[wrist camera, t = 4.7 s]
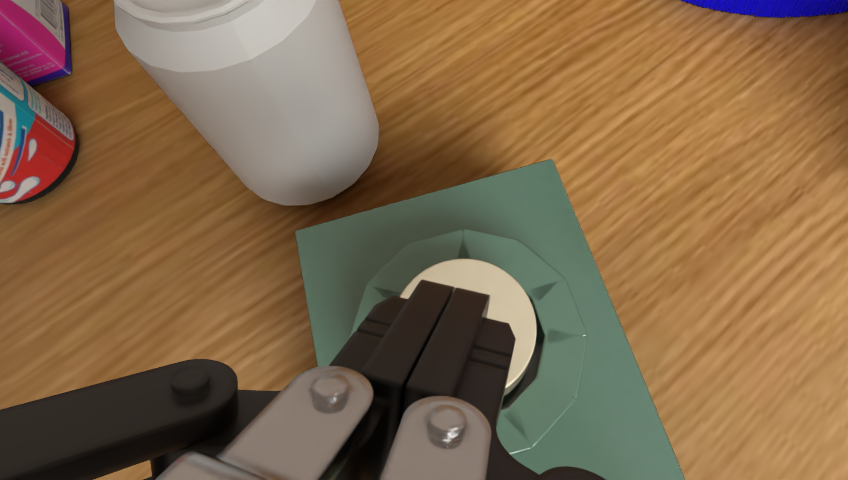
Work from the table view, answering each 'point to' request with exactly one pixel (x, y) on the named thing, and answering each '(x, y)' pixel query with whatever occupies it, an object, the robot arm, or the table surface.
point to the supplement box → (35, 39)
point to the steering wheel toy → (775, 7)
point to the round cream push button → (491, 303)
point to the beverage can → (31, 142)
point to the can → (262, 88)
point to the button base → (550, 297)
